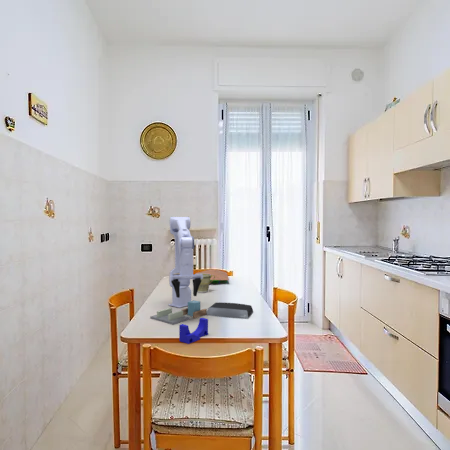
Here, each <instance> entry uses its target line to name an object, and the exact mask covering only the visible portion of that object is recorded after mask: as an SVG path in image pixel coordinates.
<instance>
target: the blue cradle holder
mask: <svg viewBox="0 0 450 450" xmlns="http://www.w3.org/2000/svg"><path fill="white" fill-rule="evenodd" d="M178 328H179V330H178V332H179V335H178V336H179V339H178V340H179V342H181V343H184V344H187V345H190V344H192V343H195V342H197V341H200V340H201V338H202V337H204V336H207V335H209V319H208V318H204V317H199V322H198V324H197V326H196V329H195V330H194V331H192V332H190V330H189V329H190V328H189V325H187V324H184V323H181V324H179V327H178Z"/></svg>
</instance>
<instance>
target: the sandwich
mask: <svg viewBox="0 0 450 450" xmlns="http://www.w3.org/2000/svg"><path fill="white" fill-rule="evenodd" d="M194 273H195V274H201V273H204V274H210V275H214V276H215V279H214V276H212V277H211V278H210V282H211V281H212V280H213V279H214V280H213V281H212V282H211V283H210V284H213V285H215V284H219V282H221V283H224V282H226V284H227V285H228V281H229V280H230V279H229V278H230V277H229V276H228V273H227V272H226V271H222V270H219V269H212V268H210V269H206V270H204V271H203V270H202V271H199V272H194Z"/></svg>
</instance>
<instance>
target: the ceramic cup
mask: <svg viewBox="0 0 450 450" xmlns="http://www.w3.org/2000/svg"><path fill="white" fill-rule="evenodd" d="M201 274H203V279H201V280H202V281H201V284H200V286H199V288H198V291H197V294H205V293H208V292H209V287H210V285H211V284H212V283H213V280H214V279H215V276H214V275H210V274H204V273H201ZM212 276H214V279H213V280H212V281H210V278H211V277H212ZM211 282H212V283H211Z"/></svg>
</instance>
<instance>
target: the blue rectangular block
mask: <svg viewBox="0 0 450 450" xmlns="http://www.w3.org/2000/svg"><path fill="white" fill-rule="evenodd" d="M187 308H188V314H187V316H188V317H193V312H196V311H199V310H201V301H200V300H191V301H189V302H188V306H187Z"/></svg>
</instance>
